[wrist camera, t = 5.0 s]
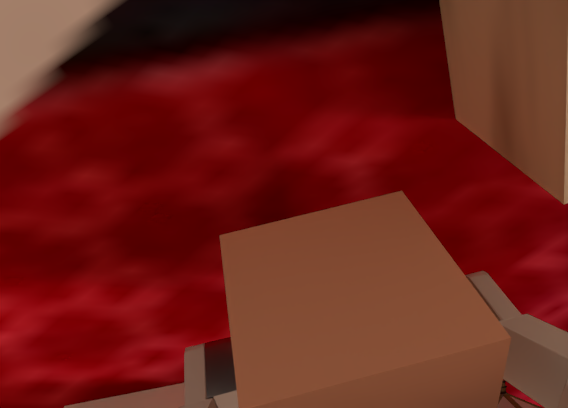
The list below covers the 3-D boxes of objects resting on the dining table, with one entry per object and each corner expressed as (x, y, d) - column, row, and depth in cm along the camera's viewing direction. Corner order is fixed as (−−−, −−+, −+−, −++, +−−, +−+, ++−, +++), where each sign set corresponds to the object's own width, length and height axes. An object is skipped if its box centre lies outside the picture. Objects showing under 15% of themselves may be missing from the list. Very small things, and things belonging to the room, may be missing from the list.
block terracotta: (401, 190, 12) (510, 337, 8) (403, 314, 15) (485, 468, 11) (219, 235, 12) (238, 411, 8) (256, 352, 15) (284, 524, 11)
